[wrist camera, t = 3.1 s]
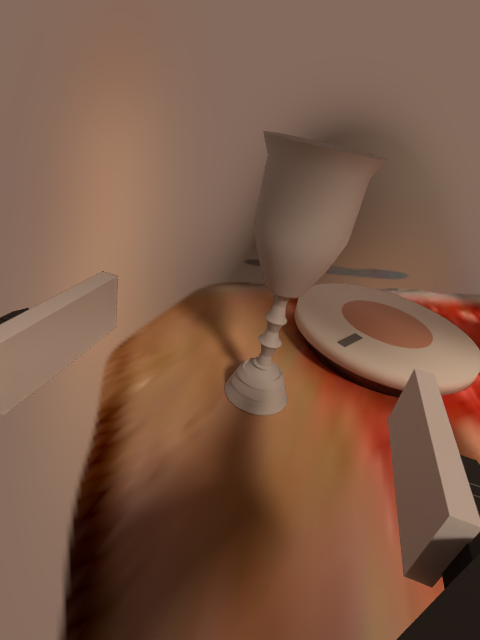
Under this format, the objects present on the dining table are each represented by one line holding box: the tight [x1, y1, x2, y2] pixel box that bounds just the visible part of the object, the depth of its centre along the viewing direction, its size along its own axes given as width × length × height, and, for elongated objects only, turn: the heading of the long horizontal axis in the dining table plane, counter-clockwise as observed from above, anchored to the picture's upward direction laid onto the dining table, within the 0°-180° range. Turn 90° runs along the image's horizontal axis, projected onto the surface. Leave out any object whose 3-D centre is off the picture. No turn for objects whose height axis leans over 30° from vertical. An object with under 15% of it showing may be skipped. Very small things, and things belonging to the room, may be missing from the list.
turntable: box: [294, 283, 480, 395], centre depth 38 cm, size 18×18×2 cm
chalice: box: [224, 131, 386, 415], centre depth 25 cm, size 7×7×18 cm
